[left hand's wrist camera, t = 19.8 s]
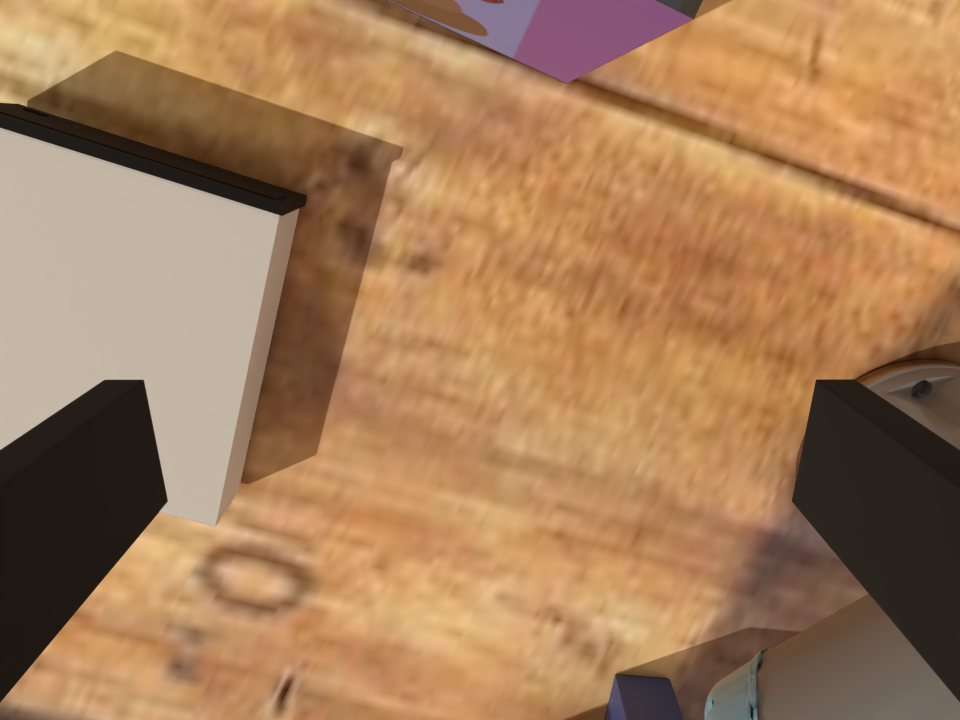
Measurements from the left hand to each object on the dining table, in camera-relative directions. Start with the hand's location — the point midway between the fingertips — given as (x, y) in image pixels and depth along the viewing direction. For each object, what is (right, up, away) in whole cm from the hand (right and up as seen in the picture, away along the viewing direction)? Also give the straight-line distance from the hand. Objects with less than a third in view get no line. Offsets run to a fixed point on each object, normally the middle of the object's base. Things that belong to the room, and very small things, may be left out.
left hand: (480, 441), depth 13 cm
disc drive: (-23, +5, +30) cm, 38 cm away
